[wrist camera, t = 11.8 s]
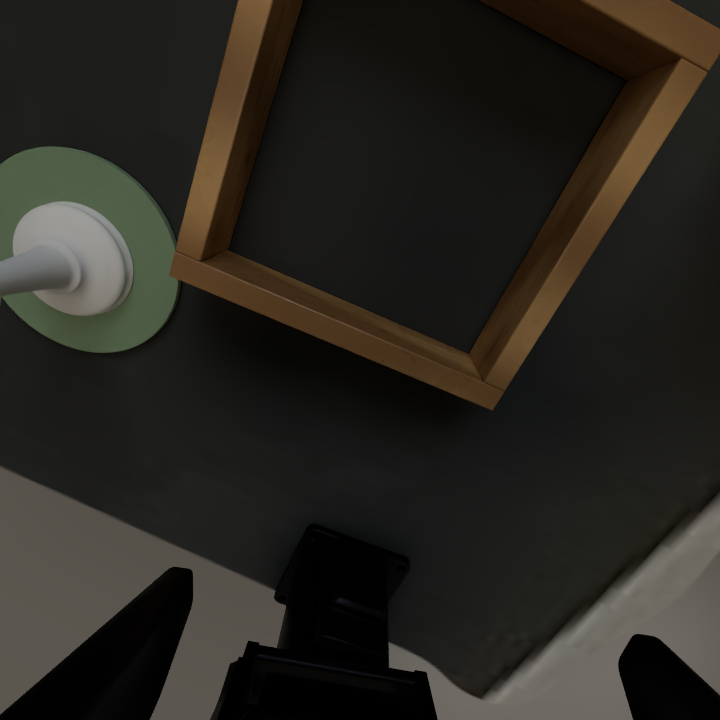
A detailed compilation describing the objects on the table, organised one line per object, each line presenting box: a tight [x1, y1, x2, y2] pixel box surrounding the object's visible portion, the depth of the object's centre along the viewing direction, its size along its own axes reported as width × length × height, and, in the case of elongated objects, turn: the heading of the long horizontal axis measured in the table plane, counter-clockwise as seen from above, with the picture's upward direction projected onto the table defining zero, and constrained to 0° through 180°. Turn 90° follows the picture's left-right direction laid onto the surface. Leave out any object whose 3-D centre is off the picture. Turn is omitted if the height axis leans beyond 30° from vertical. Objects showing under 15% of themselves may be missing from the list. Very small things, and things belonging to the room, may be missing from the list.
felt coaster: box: [0, 146, 182, 353], centre depth 19 cm, size 9×9×1 cm
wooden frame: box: [169, 0, 720, 410], centre depth 16 cm, size 14×14×3 cm
